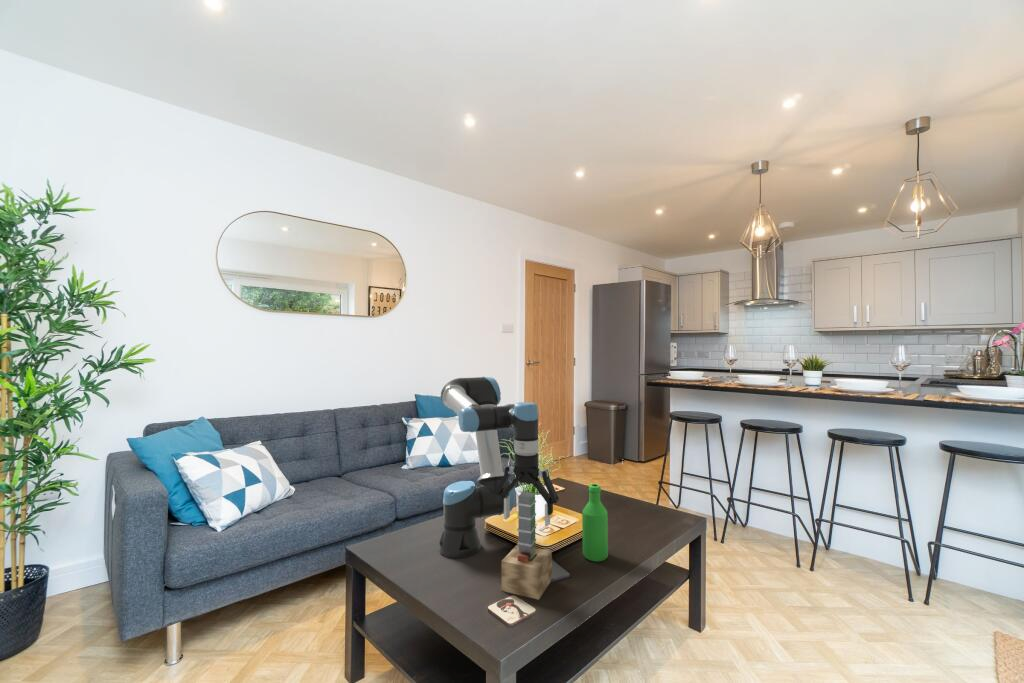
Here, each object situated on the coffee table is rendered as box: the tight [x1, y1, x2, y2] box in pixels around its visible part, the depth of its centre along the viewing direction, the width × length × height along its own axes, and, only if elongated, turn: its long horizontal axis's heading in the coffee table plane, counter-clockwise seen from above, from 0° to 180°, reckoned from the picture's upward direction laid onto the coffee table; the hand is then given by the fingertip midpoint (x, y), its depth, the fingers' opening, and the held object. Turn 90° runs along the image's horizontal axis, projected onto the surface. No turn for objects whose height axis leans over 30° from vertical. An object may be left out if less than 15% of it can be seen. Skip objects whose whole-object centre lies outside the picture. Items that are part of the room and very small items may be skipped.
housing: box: [500, 544, 553, 601], centre depth 137 cm, size 12×12×11 cm
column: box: [517, 491, 537, 561], centre depth 137 cm, size 4×4×22 cm
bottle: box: [581, 483, 609, 562], centre depth 155 cm, size 9×9×25 cm
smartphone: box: [550, 559, 571, 583], centre depth 147 cm, size 8×1×15 cm
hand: (526, 521), depth 137 cm, fingers open, 13 cm apart
